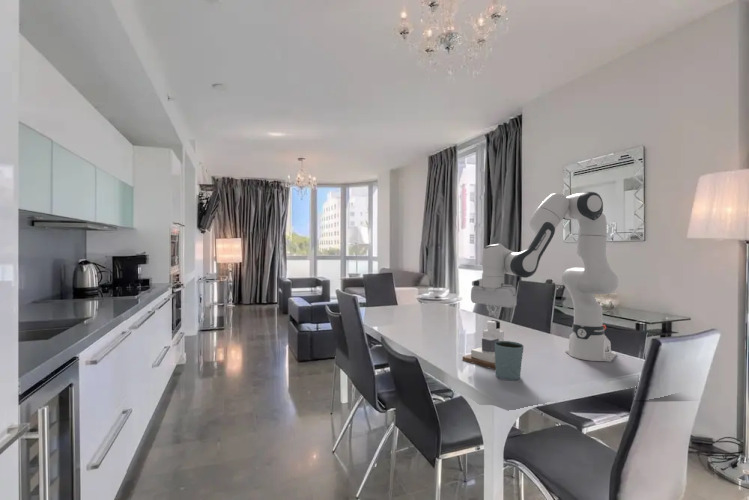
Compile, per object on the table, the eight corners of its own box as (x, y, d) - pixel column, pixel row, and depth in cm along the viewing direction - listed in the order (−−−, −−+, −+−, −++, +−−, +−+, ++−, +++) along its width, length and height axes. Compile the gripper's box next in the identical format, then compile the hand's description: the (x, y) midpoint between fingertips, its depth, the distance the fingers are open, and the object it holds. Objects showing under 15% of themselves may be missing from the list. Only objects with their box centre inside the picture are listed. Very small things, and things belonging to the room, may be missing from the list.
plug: (491, 351, 170) (491, 336, 170) (500, 353, 166) (500, 338, 166) (481, 353, 166) (482, 338, 165) (490, 356, 162) (491, 340, 162)
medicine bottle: (491, 342, 197) (491, 318, 197) (503, 345, 192) (504, 321, 192) (482, 345, 193) (482, 320, 193) (495, 348, 187) (495, 322, 187)
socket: (486, 352, 173) (486, 344, 173) (509, 358, 165) (509, 349, 165) (471, 356, 166) (471, 348, 166) (493, 363, 158) (493, 354, 158)
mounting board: (485, 353, 177) (485, 350, 177) (518, 362, 164) (518, 358, 164) (462, 360, 167) (462, 356, 167) (495, 369, 154) (495, 365, 154)
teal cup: (490, 372, 151) (490, 340, 151) (516, 371, 152) (516, 340, 152) (500, 381, 141) (500, 347, 141) (527, 380, 142) (528, 347, 142)
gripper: (519, 284, 159) (519, 318, 159) (477, 280, 175) (477, 312, 175) (510, 285, 155) (510, 320, 155) (468, 281, 171) (468, 313, 171)
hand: (492, 316), depth 165 cm, fingers closed
